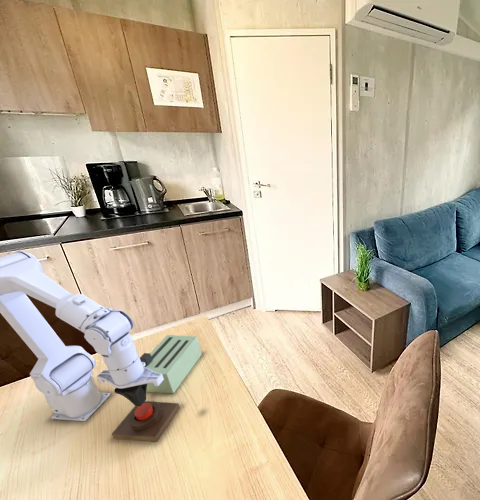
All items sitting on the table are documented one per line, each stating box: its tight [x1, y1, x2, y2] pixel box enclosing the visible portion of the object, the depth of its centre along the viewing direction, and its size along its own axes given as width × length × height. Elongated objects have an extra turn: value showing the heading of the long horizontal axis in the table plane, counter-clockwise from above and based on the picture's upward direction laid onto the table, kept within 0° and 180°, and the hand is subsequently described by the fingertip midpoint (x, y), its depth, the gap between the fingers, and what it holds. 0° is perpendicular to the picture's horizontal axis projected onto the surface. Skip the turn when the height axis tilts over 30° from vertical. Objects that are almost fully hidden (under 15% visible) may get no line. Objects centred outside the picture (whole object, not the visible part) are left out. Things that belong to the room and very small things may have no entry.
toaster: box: [144, 334, 203, 394], centre depth 85 cm, size 10×17×8 cm, turn 176°
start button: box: [134, 403, 154, 421], centre depth 71 cm, size 4×4×2 cm
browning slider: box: [139, 352, 152, 365], centre depth 80 cm, size 2×2×3 cm
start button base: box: [111, 400, 181, 443], centre depth 72 cm, size 11×9×4 cm
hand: (141, 402), depth 70 cm, fingers closed
